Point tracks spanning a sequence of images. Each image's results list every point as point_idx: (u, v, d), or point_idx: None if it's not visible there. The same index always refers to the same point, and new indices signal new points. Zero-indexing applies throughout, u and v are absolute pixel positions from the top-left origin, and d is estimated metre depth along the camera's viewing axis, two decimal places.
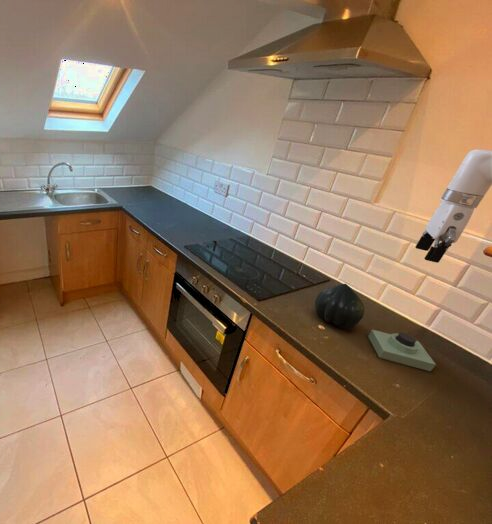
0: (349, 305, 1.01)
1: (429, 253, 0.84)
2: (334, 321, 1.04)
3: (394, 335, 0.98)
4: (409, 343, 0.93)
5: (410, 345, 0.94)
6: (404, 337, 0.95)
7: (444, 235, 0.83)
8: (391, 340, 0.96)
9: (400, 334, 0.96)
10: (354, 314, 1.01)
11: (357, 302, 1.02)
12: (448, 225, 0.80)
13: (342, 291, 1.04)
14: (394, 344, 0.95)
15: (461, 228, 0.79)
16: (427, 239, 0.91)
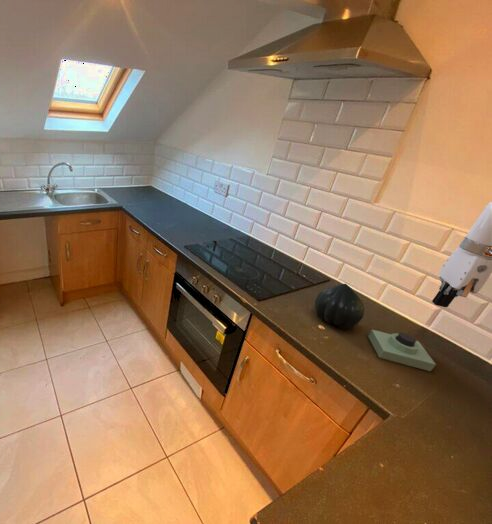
0: (349, 305, 1.01)
1: (439, 299, 0.86)
2: (334, 321, 1.04)
3: (394, 335, 0.98)
4: (409, 343, 0.93)
5: (410, 345, 0.94)
6: (404, 337, 0.95)
7: None
8: (391, 340, 0.96)
9: (400, 334, 0.96)
10: (354, 314, 1.01)
11: (357, 302, 1.02)
12: (471, 277, 0.77)
13: (342, 291, 1.04)
14: (394, 344, 0.95)
15: (484, 280, 0.77)
16: None
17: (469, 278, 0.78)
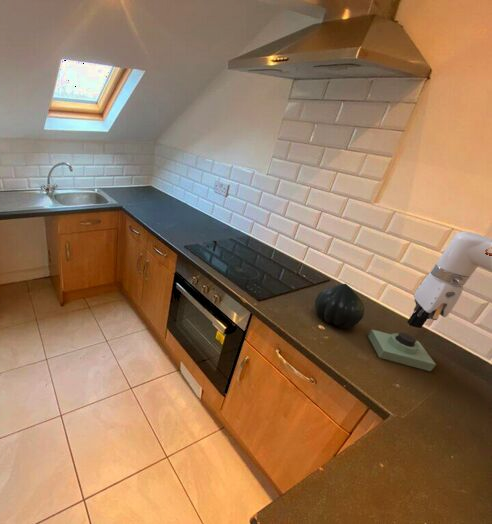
0: (349, 305, 1.01)
1: (413, 320, 0.92)
2: (334, 321, 1.04)
3: (394, 335, 0.98)
4: (409, 343, 0.93)
5: (410, 345, 0.94)
6: (404, 337, 0.95)
7: None
8: (391, 340, 0.96)
9: (400, 334, 0.96)
10: (354, 314, 1.01)
11: (357, 302, 1.02)
12: (440, 302, 0.83)
13: (342, 291, 1.04)
14: (394, 344, 0.95)
15: (452, 305, 0.83)
16: None
17: (438, 303, 0.84)
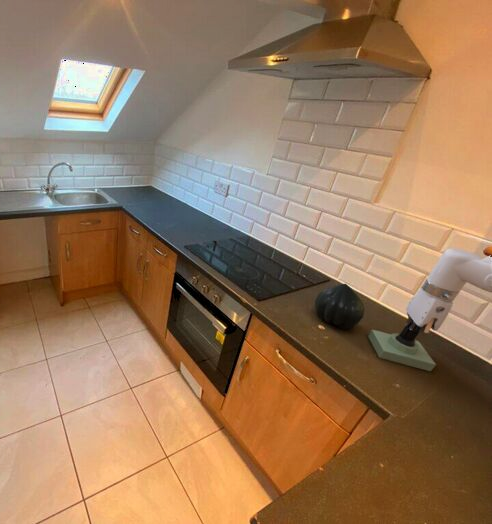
0: (349, 305, 1.01)
1: (405, 333, 0.94)
2: (334, 321, 1.04)
3: (394, 335, 0.98)
4: (409, 345, 0.94)
5: (409, 346, 0.94)
6: None
7: None
8: (391, 340, 0.96)
9: (399, 335, 0.96)
10: (354, 314, 1.01)
11: (357, 302, 1.02)
12: (431, 316, 0.86)
13: (342, 291, 1.04)
14: (394, 344, 0.95)
15: (442, 319, 0.85)
16: None
17: (429, 317, 0.86)
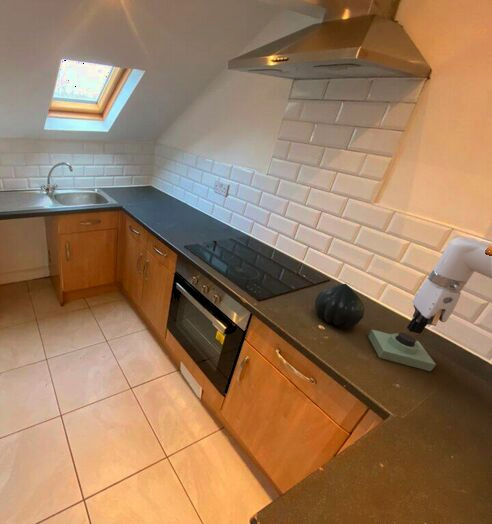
0: (349, 305, 1.01)
1: (413, 326, 0.92)
2: (334, 321, 1.04)
3: (394, 335, 0.98)
4: (409, 343, 0.93)
5: (410, 345, 0.94)
6: (404, 337, 0.95)
7: None
8: (391, 340, 0.96)
9: (400, 334, 0.96)
10: (354, 314, 1.01)
11: (357, 302, 1.02)
12: (439, 308, 0.84)
13: (342, 291, 1.04)
14: (394, 344, 0.95)
15: (450, 310, 0.83)
16: None
17: (437, 308, 0.84)
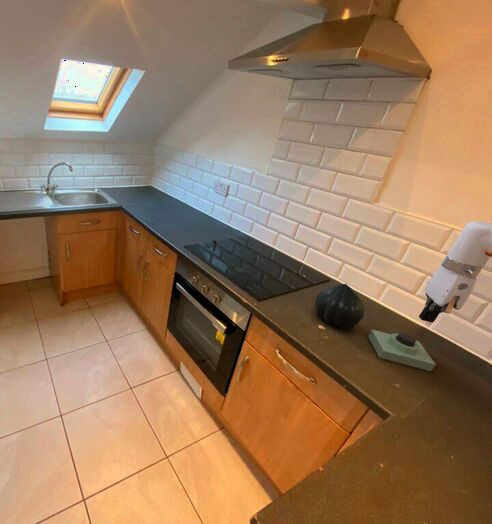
0: (349, 305, 1.01)
1: (425, 314, 0.89)
2: (334, 321, 1.04)
3: (394, 335, 0.98)
4: (409, 343, 0.93)
5: (410, 345, 0.94)
6: (404, 337, 0.95)
7: None
8: (391, 340, 0.96)
9: (400, 334, 0.96)
10: (354, 314, 1.01)
11: (357, 302, 1.02)
12: (453, 294, 0.81)
13: (342, 291, 1.04)
14: (394, 344, 0.95)
15: (465, 297, 0.80)
16: None
17: (451, 295, 0.81)
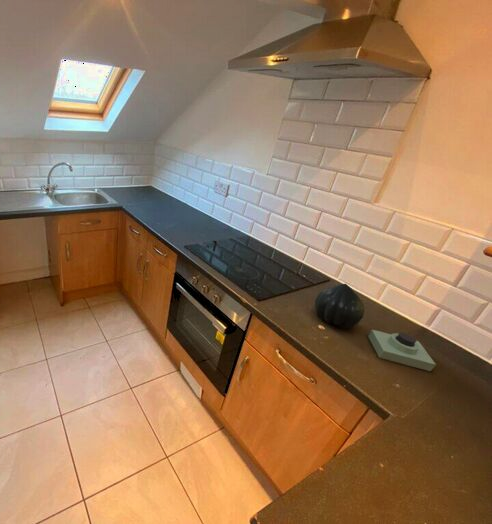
0: (349, 305, 1.01)
1: None
2: (334, 321, 1.04)
3: (394, 335, 0.98)
4: (409, 343, 0.93)
5: (410, 345, 0.94)
6: (404, 337, 0.95)
7: None
8: (391, 340, 0.96)
9: (400, 334, 0.96)
10: (354, 314, 1.01)
11: (357, 302, 1.02)
12: None
13: (342, 291, 1.04)
14: (394, 344, 0.95)
15: None
16: None
17: None
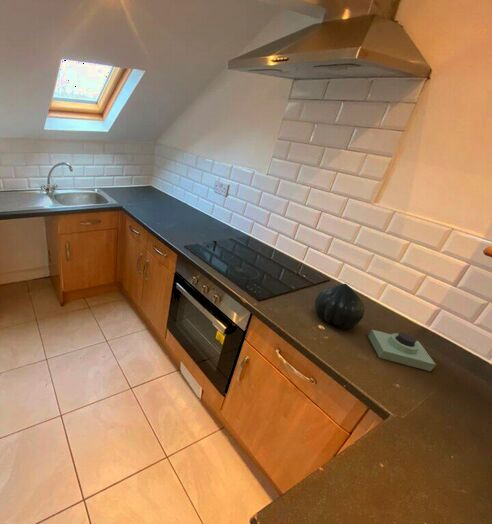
0: (349, 305, 1.01)
1: None
2: (334, 321, 1.04)
3: (394, 335, 0.98)
4: (409, 343, 0.93)
5: (410, 345, 0.94)
6: (404, 337, 0.95)
7: None
8: (391, 340, 0.96)
9: (400, 334, 0.96)
10: (354, 314, 1.01)
11: (357, 302, 1.02)
12: None
13: (342, 291, 1.04)
14: (394, 344, 0.95)
15: None
16: None
17: None
